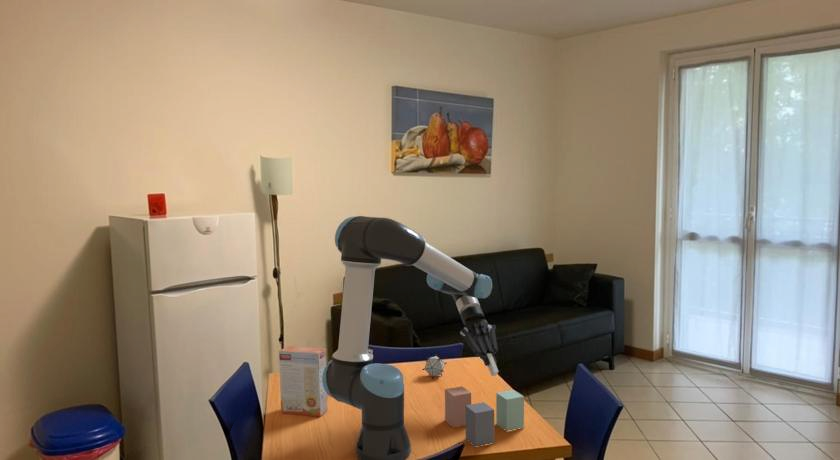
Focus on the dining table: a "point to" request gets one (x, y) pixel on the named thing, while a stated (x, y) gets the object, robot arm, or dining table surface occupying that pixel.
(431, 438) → the dining table surface
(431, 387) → the dining table surface
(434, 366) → the game die
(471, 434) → the slate blue block
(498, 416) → the sage block
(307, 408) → the cracker box
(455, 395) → the pink block
